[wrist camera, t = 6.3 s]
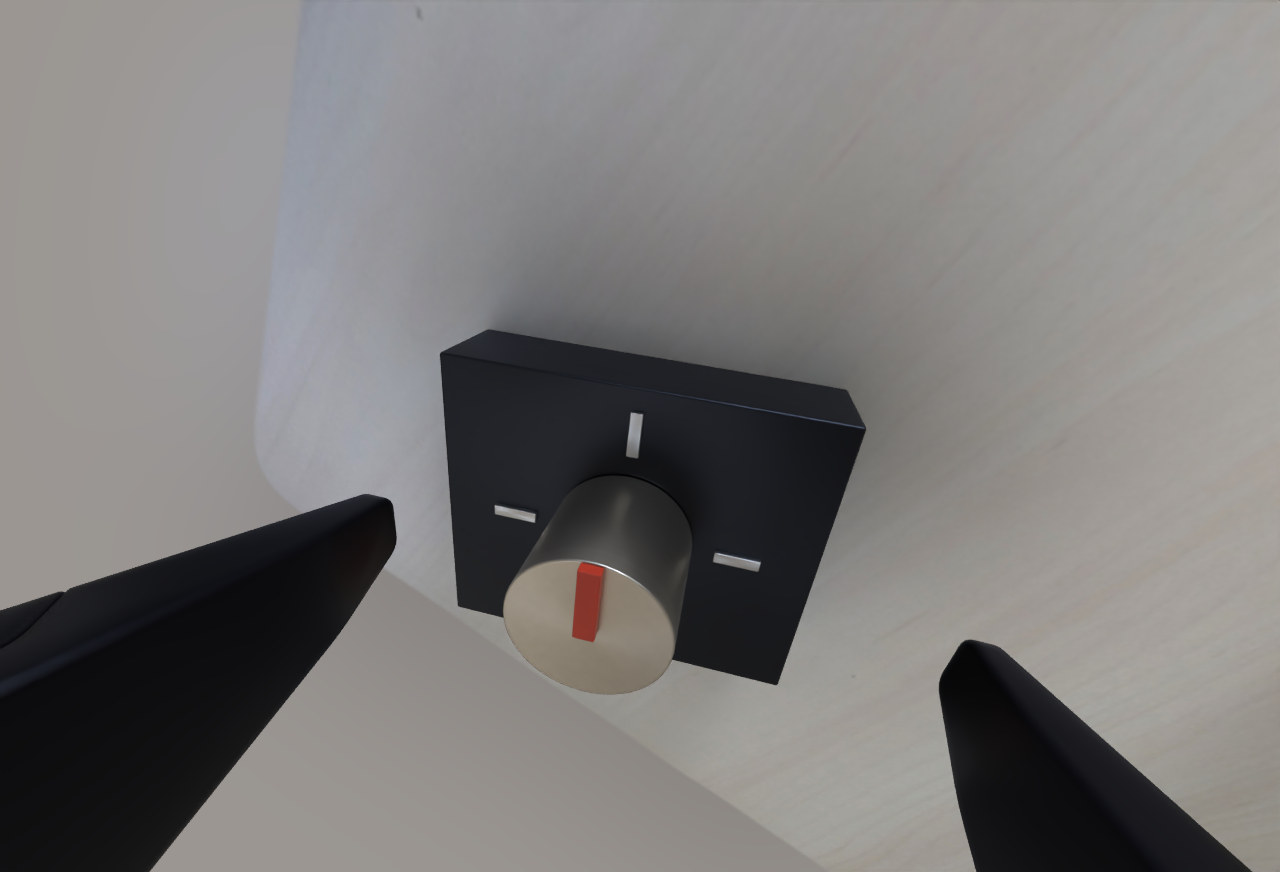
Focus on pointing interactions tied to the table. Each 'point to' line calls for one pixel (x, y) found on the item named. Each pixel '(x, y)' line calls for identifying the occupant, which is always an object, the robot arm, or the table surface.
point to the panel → (651, 477)
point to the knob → (603, 587)
